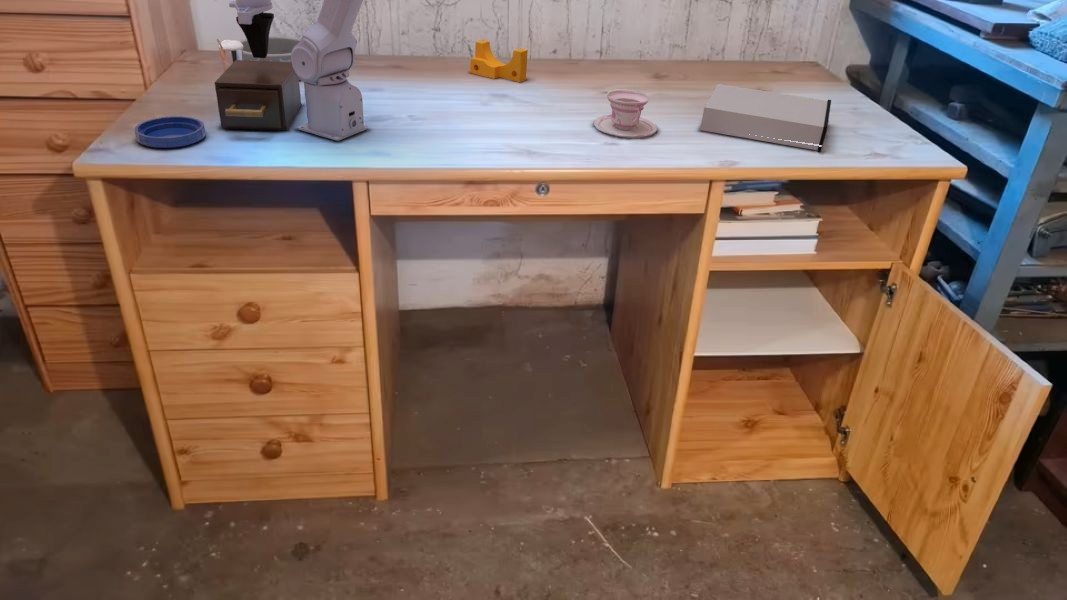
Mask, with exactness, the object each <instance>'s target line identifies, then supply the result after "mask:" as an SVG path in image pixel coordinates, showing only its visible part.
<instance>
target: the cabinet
mask: <svg viewBox="0 0 1067 600" xmlns="http://www.w3.org/2000/svg"><path fill="white" fill-rule="evenodd" d="M226 87H234V88H262V89H278V90H279V98H280V107H281V116H282V124H283V126H282V127H281V128H274V127H243V126H223V125H222V119H221V112H220V106H219V100H218V93H217V89H218V88H226ZM214 88H215V95H216V101H217V107H218V113H219V120H220V128H221V129H228V130H229V129H230V130H231V129H232V130H261V131H263V130H264V131H265V130H266V131H288V129H289V127H290V126H291V124H292V122H293V120H294V118H295V117H296V116H297V114H298V112H299V111H300V108H301V107H302V99H301V89H300V88H301V87H300V80H299V76H298V75H297V74H296V72H295V71H294V69H293V66H292V62H274V61H249V60H235V61H234V62H233V63H232V65H231V66H230V67H229V68H228V69H227V70H226V71H223V72H222V74H221V75H220V76H219V77H218V78H217V79H216V80H215V81H214Z"/></svg>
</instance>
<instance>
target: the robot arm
mask: <svg viewBox="0 0 1067 600" xmlns="http://www.w3.org/2000/svg"><path fill="white" fill-rule="evenodd" d="M363 1H364V0H323V3H322V5H321V9H320V12H319V14H318V17H317V20H316V21H315V23H313V25H312V26H310V27H309V28H308V29H307V30H306V31H305V32H303V34H302V36H301V38H300V39H301V41H300V42H299V43H298V44H297V45H296V46H294V48H293V49H292V52H291V62H292V66H293V69H294V71H295V72H296V74H297V75H298V76H299V78H300V80H299V81H300V82H303V88H304V98H305V99H304V100H305V108H306V118H307V122H306V123H303V124H301V125H298V126H297V127H296V128H297V130H298V131H302V132H305V133H309V134H312V135H314V136H315V135H316V136H319V137H322V138H326V139H329V140H333V141H337V142H338V141H341V140H343V139H346V138H349V137H352V136H353V135H356V134H358V133H361V132H364V131H365V130H367V129H368V126H367V125H365V121H364V103H363V95H362V92H361V90H360V89H359V87H357V86H355V85H353V84H352V83H350V82H349V81H348V78H349V77H350V70H352V68H353V67H354V65H355V62H356V47H357V44H358V39H357V38H356V36H355V35H354V34H353V32H352V30H353V27H354V25H355V22H356V20H357V17H358V15H359V12H360V9H361V7H362V4H363ZM228 6H229V8H234V9H235V10H236V11H237V12H236V13H237V16H236V17H235V21H236V23H237V25H238V26H239V28H240V29H241V31H242V32H243V34H244V36H245V39H247V41H248V44H249V47H250V49H251V52H252V55H253V57H254V58H266V57H267V52H268V41H269V36H270V33H271V32H270V31H271V27H272V24H273V22H274V18H275V14H274V13H272V12H267V11H270V10H272V9H273V3H272V1H271V0H231V1H229V2H228Z"/></svg>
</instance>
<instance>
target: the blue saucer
mask: <svg viewBox="0 0 1067 600" xmlns="http://www.w3.org/2000/svg"><path fill="white" fill-rule="evenodd" d="M134 135H135V140H136V141H137V142H138V143H139V144H140V145H143V146H147V147H150V148H154V149H155V148H156V149H175V148H182V147H183V148H184V147H187V146H190V145H193V144H195V143H197V142H200V141H201V140H204V138H205V137H206V135H207V133H206V128H205V124H204V122H203V121H202V120H200V119H198V118H195V117H189V116H183V115H182V116H178V115H175V116H174V115H173V116H172V115H171V116H161V117H160V116H159V117H155V118H150V119H147V120H144V121H142V122H140V123H138V124H136V126H135V127H134Z"/></svg>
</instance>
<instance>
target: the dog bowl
mask: <svg viewBox="0 0 1067 600" xmlns="http://www.w3.org/2000/svg"><path fill="white" fill-rule="evenodd" d="M239 41H240V42H241V43H242V44H243V46H244V60H249V61H274V62H291V52H292V49H293V48H294V46H296V45H297V44H298V43H299V42H300V41H301V38H297V37H290V36H279V35H278V36H273V35H272V36H270V35H269V41H268V52H267V57H266V58H254V57H253V55H252V52H251V49H250V47H249V44H248V41H247V38H245V39H240V40H239ZM299 81H301V80H300V78H299Z"/></svg>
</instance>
